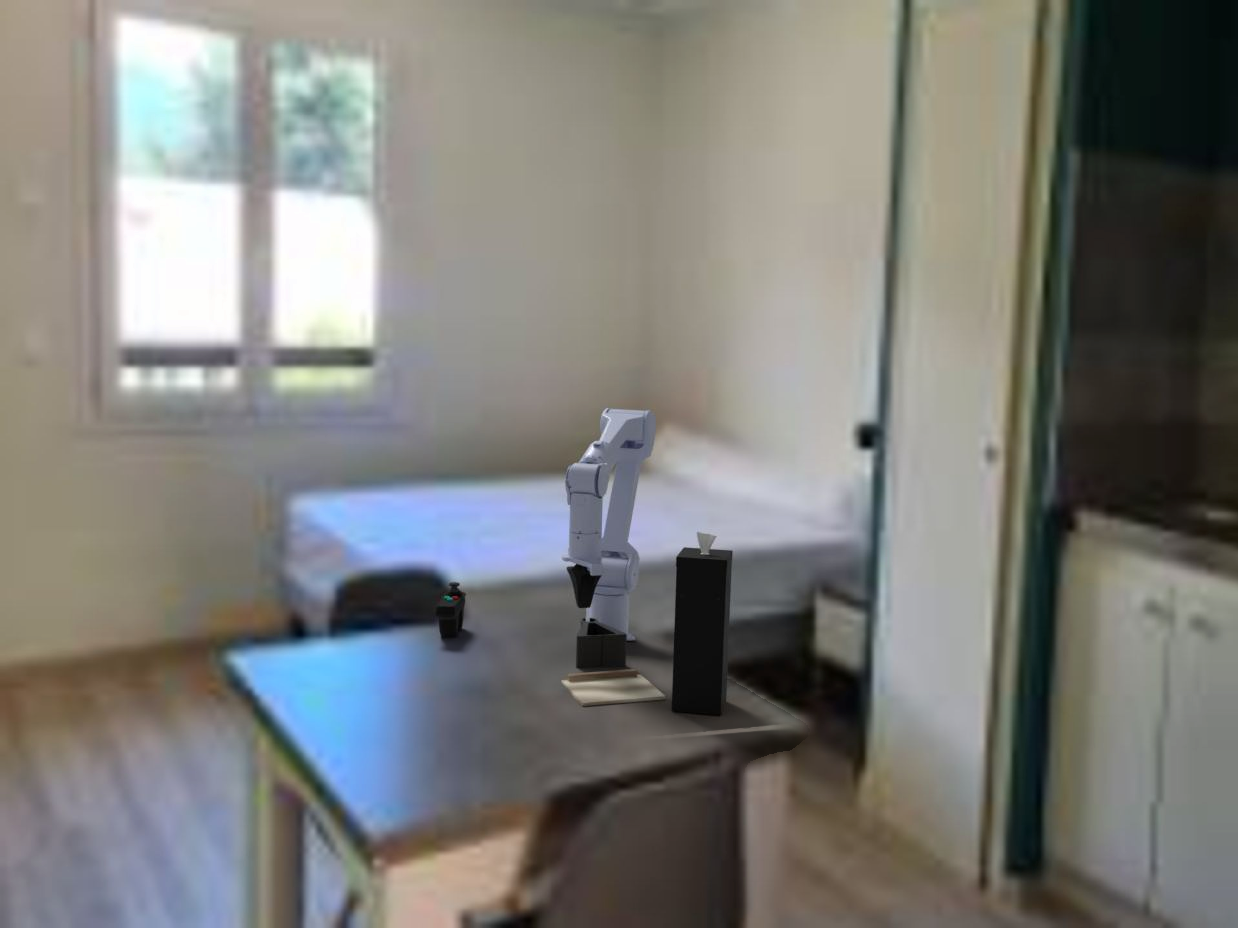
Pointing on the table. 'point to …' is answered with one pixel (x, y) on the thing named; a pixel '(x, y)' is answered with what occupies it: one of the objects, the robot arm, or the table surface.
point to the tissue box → (701, 628)
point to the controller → (451, 611)
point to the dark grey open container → (600, 645)
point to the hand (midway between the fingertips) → (583, 607)
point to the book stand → (610, 687)
